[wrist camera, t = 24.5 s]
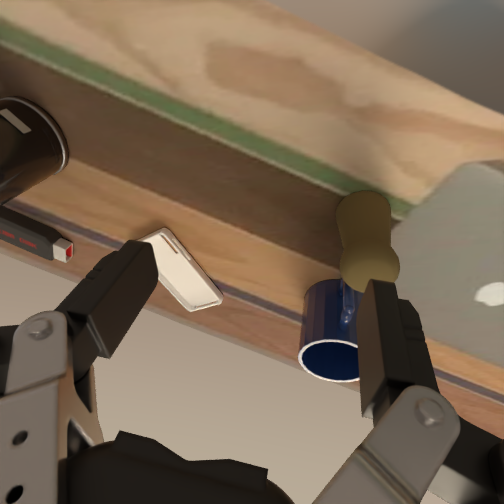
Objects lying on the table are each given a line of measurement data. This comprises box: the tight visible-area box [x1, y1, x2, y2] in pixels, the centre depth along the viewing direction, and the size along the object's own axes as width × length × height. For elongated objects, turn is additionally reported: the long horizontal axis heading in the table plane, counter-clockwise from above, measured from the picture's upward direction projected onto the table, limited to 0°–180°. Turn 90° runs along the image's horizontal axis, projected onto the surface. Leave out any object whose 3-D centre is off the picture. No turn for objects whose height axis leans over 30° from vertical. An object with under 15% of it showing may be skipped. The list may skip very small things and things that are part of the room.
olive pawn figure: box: [335, 191, 400, 293], centre depth 31 cm, size 6×6×11 cm
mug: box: [298, 278, 364, 382], centre depth 40 cm, size 13×9×10 cm
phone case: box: [137, 228, 223, 312], centre depth 47 cm, size 7×1×15 cm
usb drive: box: [0, 206, 73, 263], centre depth 48 cm, size 5×12×3 cm, turn 67°
